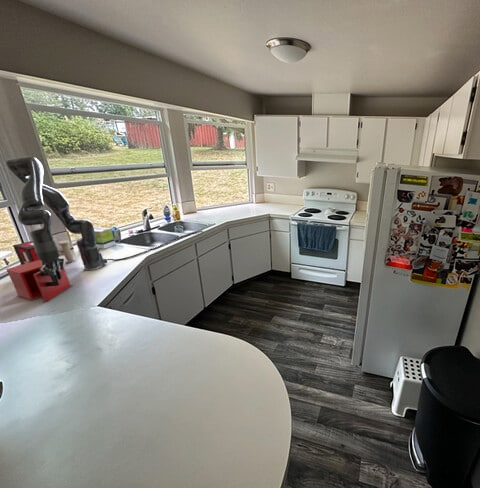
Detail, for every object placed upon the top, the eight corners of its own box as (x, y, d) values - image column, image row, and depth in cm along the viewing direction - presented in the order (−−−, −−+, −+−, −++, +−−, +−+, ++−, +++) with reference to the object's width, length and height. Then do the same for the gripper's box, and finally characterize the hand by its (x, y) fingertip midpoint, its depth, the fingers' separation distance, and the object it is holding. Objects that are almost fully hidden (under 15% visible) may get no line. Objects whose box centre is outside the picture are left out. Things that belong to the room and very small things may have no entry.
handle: (65, 264, 172) (57, 243, 167) (66, 261, 177) (59, 241, 171) (75, 262, 175) (67, 242, 170) (76, 259, 180) (69, 239, 174)
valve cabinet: (69, 286, 146) (59, 261, 140) (31, 300, 131) (19, 273, 126) (56, 282, 149) (46, 257, 144) (18, 295, 135) (6, 269, 129)
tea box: (88, 247, 201) (82, 230, 196) (101, 243, 210) (95, 226, 205) (104, 249, 199) (99, 231, 194) (116, 244, 208) (111, 227, 203)
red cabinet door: (81, 285, 146) (72, 261, 141) (58, 300, 131) (47, 274, 126) (68, 286, 145) (59, 261, 140) (44, 301, 130) (33, 274, 125)
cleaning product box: (59, 273, 159) (48, 244, 152) (40, 279, 151) (28, 249, 144) (44, 269, 164) (33, 240, 157) (25, 275, 156) (12, 245, 149)
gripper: (44, 254, 120) (56, 285, 126) (65, 244, 132) (75, 273, 138) (25, 254, 118) (37, 287, 124) (48, 245, 131) (58, 274, 137)
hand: (57, 279), depth 131 cm, fingers closed on red cabinet door, 2 cm apart
